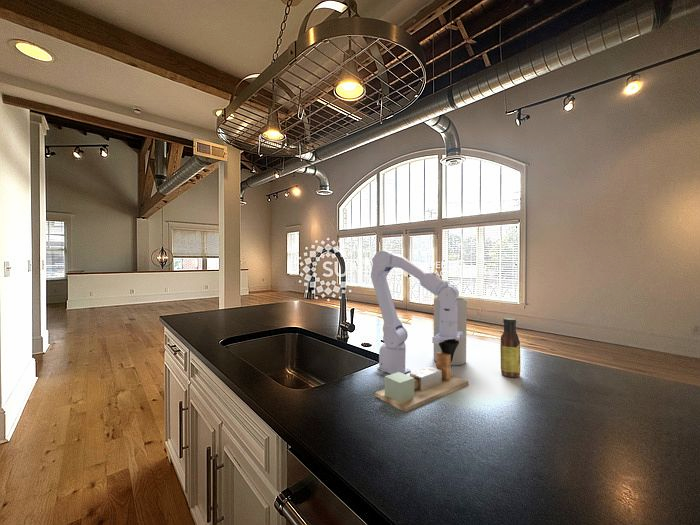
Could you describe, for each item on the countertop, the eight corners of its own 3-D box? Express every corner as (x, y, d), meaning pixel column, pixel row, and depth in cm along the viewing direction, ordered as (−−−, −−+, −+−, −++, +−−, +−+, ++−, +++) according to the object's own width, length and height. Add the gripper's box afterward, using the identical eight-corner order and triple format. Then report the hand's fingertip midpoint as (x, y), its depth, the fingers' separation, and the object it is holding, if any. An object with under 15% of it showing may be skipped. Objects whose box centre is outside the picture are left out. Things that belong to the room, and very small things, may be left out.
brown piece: (400, 389, 92) (400, 363, 92) (440, 375, 103) (440, 351, 103) (410, 394, 88) (410, 366, 88) (450, 379, 100) (450, 354, 100)
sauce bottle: (524, 378, 105) (524, 320, 105) (505, 378, 105) (506, 320, 105) (514, 371, 112) (514, 317, 112) (496, 371, 112) (497, 317, 112)
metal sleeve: (409, 387, 94) (409, 373, 94) (430, 379, 101) (430, 366, 101) (421, 392, 91) (421, 377, 91) (441, 384, 97) (441, 370, 97)
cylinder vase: (427, 357, 128) (428, 297, 128) (453, 354, 131) (453, 296, 131) (445, 367, 116) (446, 301, 116) (473, 364, 120) (473, 300, 119)
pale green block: (384, 394, 89) (384, 376, 89) (398, 389, 93) (399, 371, 93) (399, 402, 84) (399, 382, 84) (414, 396, 88) (414, 377, 88)
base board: (374, 396, 91) (375, 392, 91) (437, 373, 109) (437, 370, 109) (405, 412, 81) (405, 407, 81) (468, 384, 100) (468, 381, 100)
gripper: (445, 326, 95) (445, 369, 95) (471, 320, 104) (470, 360, 104) (427, 322, 101) (426, 363, 101) (453, 317, 110) (452, 355, 110)
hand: (448, 361), depth 103 cm, fingers closed
